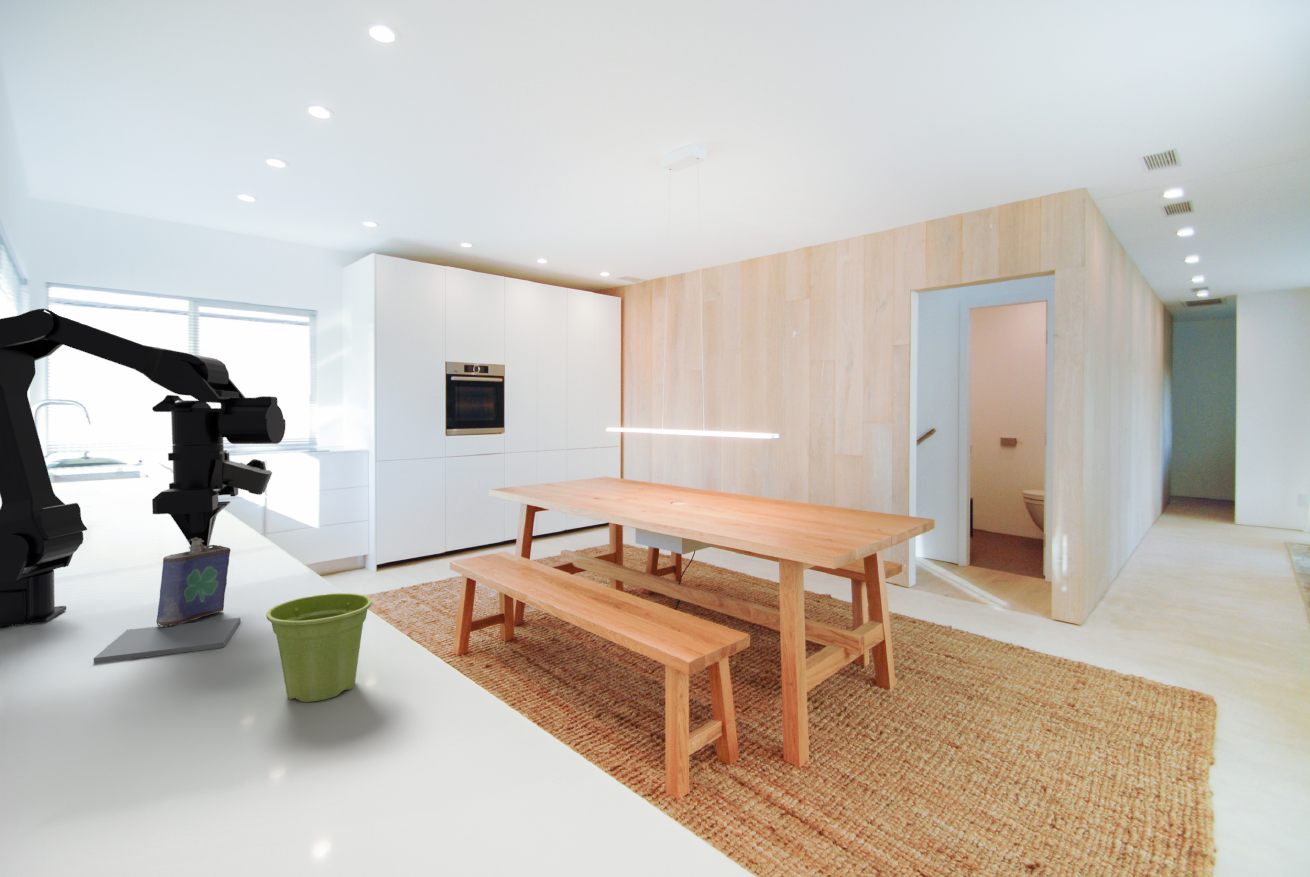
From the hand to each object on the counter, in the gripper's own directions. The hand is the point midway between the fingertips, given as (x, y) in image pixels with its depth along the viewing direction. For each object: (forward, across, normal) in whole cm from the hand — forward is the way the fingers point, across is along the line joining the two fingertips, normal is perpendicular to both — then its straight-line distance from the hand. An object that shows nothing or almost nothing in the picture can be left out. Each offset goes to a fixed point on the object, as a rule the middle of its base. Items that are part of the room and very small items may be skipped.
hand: (201, 554), depth 84 cm
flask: (+8, -4, +1) cm, 9 cm away
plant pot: (+8, -34, -16) cm, 39 cm away
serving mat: (+8, -12, +1) cm, 14 cm away
